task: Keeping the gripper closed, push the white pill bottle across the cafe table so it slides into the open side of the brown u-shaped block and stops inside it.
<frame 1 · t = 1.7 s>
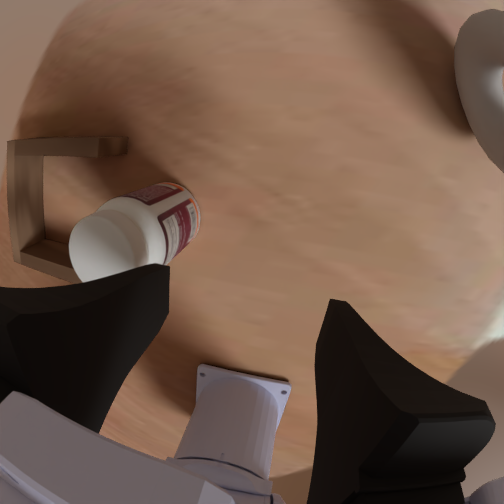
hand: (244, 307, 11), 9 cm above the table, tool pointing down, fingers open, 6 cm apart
donut: (469, 103, 14), on the table
pill bottle: (170, 215, 21), on the table
brown u-shaped block: (73, 200, 21), on the table
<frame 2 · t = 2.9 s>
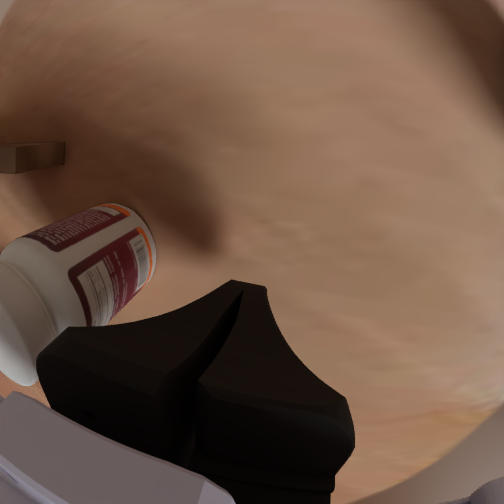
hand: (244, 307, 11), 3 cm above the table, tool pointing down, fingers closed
pill bottle: (119, 247, 14), on the table
brown u-shaped block: (13, 223, 15), on the table
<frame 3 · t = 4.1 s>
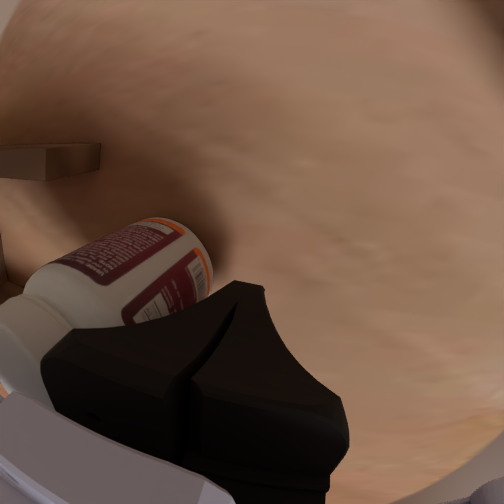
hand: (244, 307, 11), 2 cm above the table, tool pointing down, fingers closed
pill bottle: (167, 267, 13), on the table, touching gripper
brown u-shaped block: (33, 235, 14), on the table
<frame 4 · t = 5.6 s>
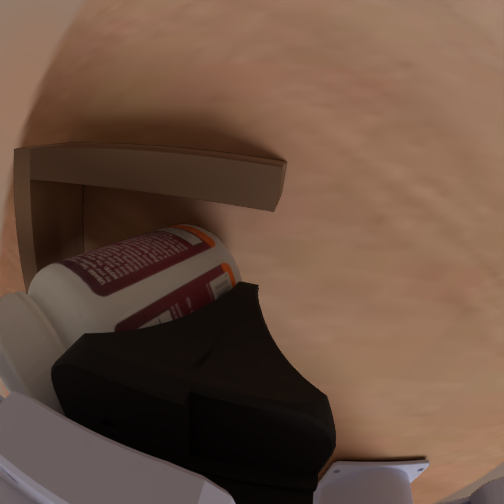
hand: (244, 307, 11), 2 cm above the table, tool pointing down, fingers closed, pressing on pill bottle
pill bottle: (197, 278, 12), point 1 cm above the table, touching gripper
brown u-shaped block: (151, 263, 13), on the table
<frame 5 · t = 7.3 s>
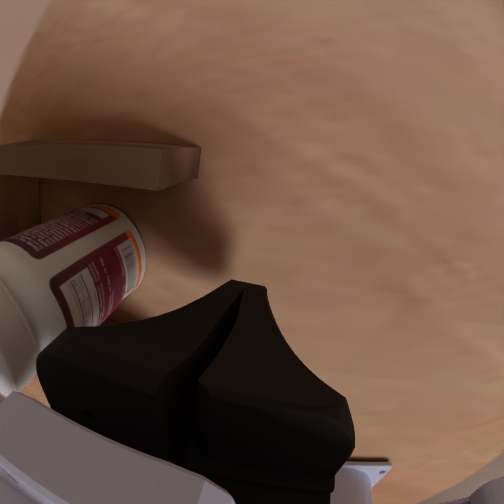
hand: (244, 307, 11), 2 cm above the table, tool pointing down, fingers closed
pill bottle: (109, 249, 14), on the table
brown u-shaped block: (93, 248, 13), on the table
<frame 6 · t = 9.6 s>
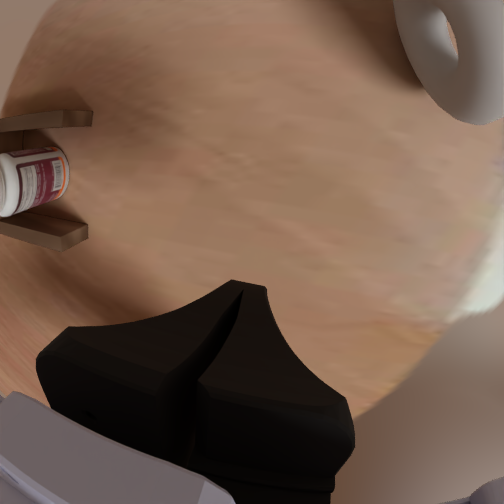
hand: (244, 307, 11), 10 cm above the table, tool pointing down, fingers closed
donut: (419, 58, 15), on the table
pill bottle: (54, 173, 21), on the table
brown u-shaped block: (46, 172, 21), on the table
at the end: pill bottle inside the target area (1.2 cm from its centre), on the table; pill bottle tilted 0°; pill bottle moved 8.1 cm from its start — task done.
